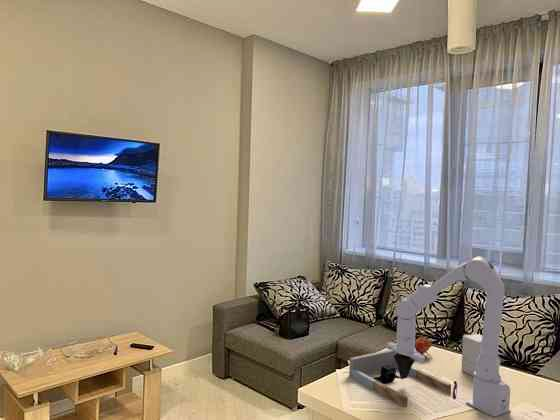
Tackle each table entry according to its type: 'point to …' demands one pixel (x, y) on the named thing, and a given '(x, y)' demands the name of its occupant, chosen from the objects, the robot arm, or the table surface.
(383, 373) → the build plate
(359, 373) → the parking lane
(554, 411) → the table surface
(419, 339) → the pomegranate
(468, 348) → the supplement box
